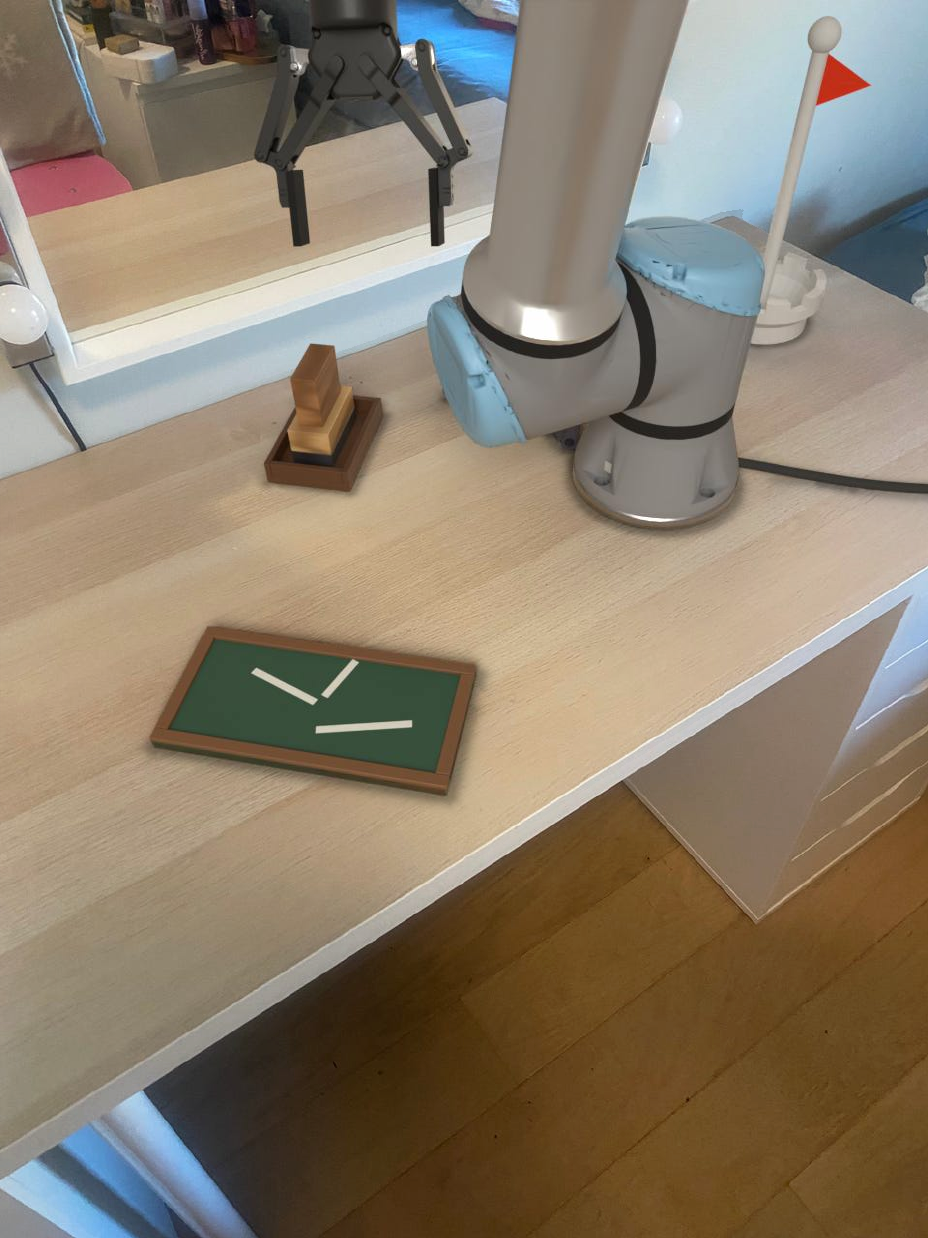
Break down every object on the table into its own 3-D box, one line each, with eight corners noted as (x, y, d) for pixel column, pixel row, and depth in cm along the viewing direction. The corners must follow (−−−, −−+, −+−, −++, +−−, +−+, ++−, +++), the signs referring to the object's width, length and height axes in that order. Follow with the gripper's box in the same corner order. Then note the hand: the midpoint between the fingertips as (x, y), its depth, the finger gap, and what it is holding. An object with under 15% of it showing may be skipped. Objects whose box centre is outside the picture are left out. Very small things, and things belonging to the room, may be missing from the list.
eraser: (356, 419, 91) (345, 340, 84) (333, 467, 86) (320, 388, 79) (318, 415, 91) (305, 336, 85) (293, 463, 86) (277, 383, 80)
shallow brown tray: (383, 416, 92) (381, 397, 91) (350, 492, 84) (347, 472, 83) (307, 408, 94) (304, 389, 92) (267, 482, 86) (263, 463, 84)
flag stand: (686, 336, 101) (742, 30, 79) (712, 283, 109) (769, -9, 87) (804, 358, 98) (897, 45, 76) (822, 302, 106) (911, 3, 83)
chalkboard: (476, 674, 69) (476, 664, 68) (446, 796, 62) (446, 787, 61) (210, 636, 73) (207, 625, 72) (153, 748, 65) (148, 737, 64)
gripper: (502, -27, 77) (502, 239, 87) (231, -12, 81) (261, 240, 91) (488, -41, 70) (490, 249, 81) (194, -24, 75) (231, 249, 85)
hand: (369, 245), depth 86 cm, fingers open, 13 cm apart
